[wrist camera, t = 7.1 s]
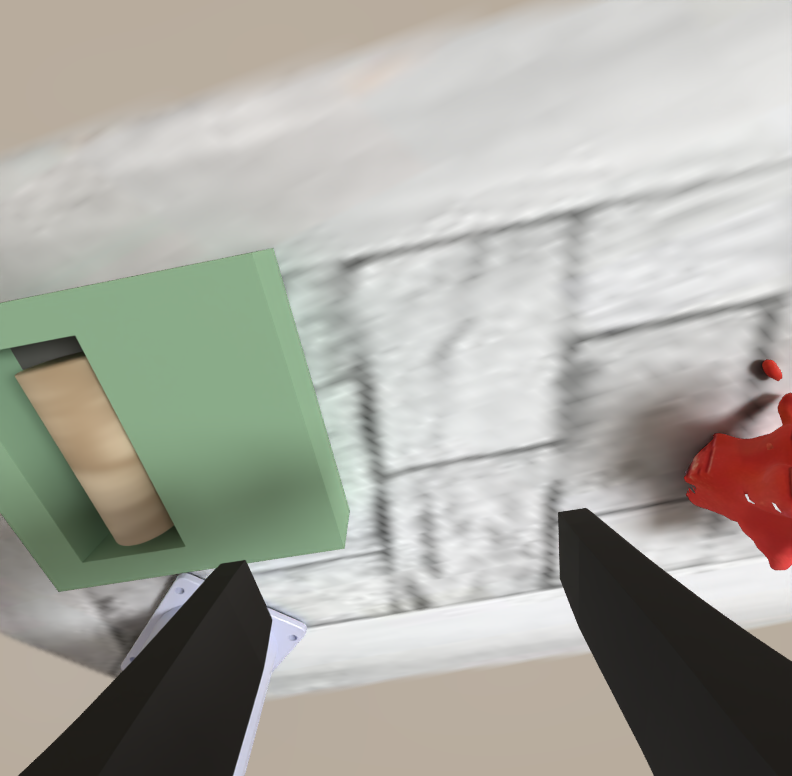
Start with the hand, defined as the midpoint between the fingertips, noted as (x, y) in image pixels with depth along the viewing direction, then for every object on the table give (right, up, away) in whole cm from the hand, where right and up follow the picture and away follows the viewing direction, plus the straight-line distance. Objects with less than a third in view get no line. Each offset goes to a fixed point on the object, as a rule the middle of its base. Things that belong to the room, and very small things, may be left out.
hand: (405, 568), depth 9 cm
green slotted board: (-11, +2, +9) cm, 14 cm away
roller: (-12, +2, +8) cm, 15 cm away
